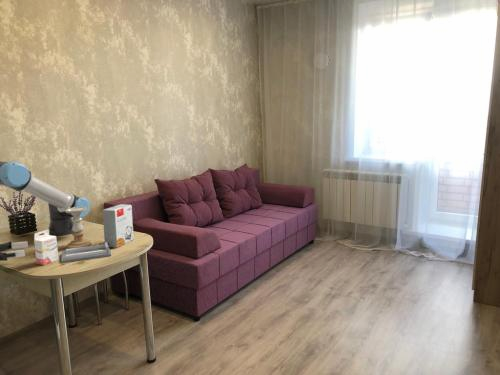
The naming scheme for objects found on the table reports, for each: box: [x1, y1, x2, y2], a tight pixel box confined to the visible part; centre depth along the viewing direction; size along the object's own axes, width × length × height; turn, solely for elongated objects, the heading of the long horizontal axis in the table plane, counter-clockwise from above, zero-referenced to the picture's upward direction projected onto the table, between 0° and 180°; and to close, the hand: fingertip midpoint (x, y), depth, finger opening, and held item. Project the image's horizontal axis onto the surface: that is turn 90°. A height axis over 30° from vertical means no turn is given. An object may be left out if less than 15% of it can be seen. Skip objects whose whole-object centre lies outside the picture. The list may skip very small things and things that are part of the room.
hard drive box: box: [102, 203, 134, 249], centre depth 213 cm, size 16×8×20 cm, turn 162°
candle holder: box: [65, 207, 93, 249], centre depth 210 cm, size 12×12×20 cm
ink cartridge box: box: [33, 229, 59, 266], centre depth 188 cm, size 9×5×15 cm, turn 157°
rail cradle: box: [61, 240, 112, 264], centre depth 197 cm, size 14×22×4 cm, turn 113°
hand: (26, 248), depth 184 cm, fingers open, 13 cm apart
